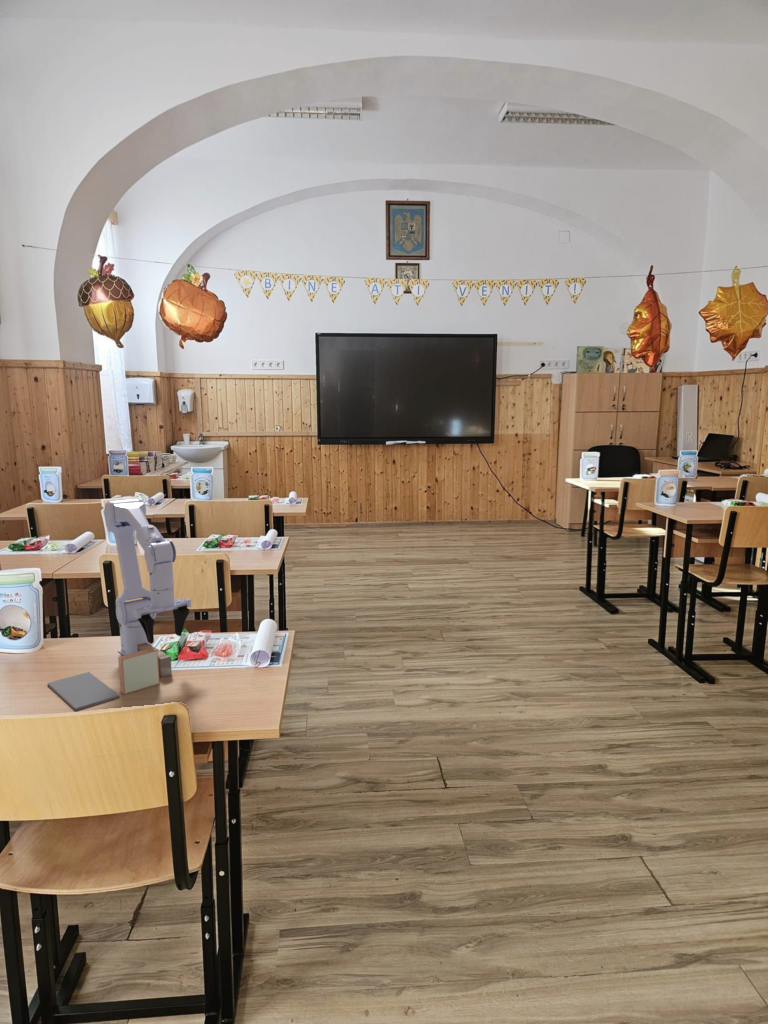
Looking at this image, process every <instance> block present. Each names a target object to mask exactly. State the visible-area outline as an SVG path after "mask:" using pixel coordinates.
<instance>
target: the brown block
mask: <svg viewBox="0 0 768 1024" xmlns="http://www.w3.org/2000/svg"><path fill="white" fill-rule="evenodd" d="M151 648H155V649H157V650H158V666H159V677H161V678H163V679H164V678H166V677H169V676H172V675H173V673H172V671H173V670H172V656H170V655H168V654H167V653H165V652H163V651H162V650H161V649H158V648H156V647H155V646H153V645H152V646H151V645H149V644H148V643H142V644H138V645H137V650H138V652H139V651H143V650H147V649H151Z"/></svg>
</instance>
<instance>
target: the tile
mask: <svg viewBox="0 0 768 1024" xmlns="http://www.w3.org/2000/svg"><path fill="white" fill-rule="evenodd" d="M155 648H156V647H155ZM155 648H151V649H147V650H143V651H139V652H136V653H132V654H128V655H120V656H118V657H117V660H118V672H119V673H118V674H119V675H118V676H119V688H120V693H121V694H122V693H123V695H127V694H128V695H129V694H130V693H134V692H137V691H140V690H144V689H147V688H150V687H154V686H157V685H160V682H161V681H160V676H159V666H158V650H159V649H158V648H156V649H155ZM157 649H158V650H157Z"/></svg>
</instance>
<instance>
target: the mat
mask: <svg viewBox="0 0 768 1024" xmlns="http://www.w3.org/2000/svg"><path fill="white" fill-rule="evenodd" d="M47 686H48V687H49V688H50V689H51V690H52V691H53V692H54V693H56V694H57V695H58V696H59V697H60V698H61V699H62V700H63V701H64V702H65V703H67V705H68V706H70V708H72V709H73V710H74V711H79V710H83V709H86V708H89V707H92V706H96V705H99V704H102V703H106V702H109V700H110V701H113V700H116V699H119V698H120V694H118V693H117V692H116V691H114V690H113V689H112V688H111V687H109V686H108V685H106V684H105V683H104V682H103V681H101V680H100V679H99V678H97V677H96V676H95V675H93V674H92V673H90V672H89V671H87V672H84V673H79V674H77V675H76V674H75V675H72V676H69V677H68V676H67V677H65V678H64V677H63V678H61V679H57V680H53V681H50V682H47ZM118 697H119V698H118ZM112 699H113V700H112ZM105 701H106V702H105Z"/></svg>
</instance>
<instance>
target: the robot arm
mask: <svg viewBox="0 0 768 1024" xmlns="http://www.w3.org/2000/svg"><path fill="white" fill-rule="evenodd" d="M103 513H104V519H105V524H106V528H107V531H108V532H110V533H113V536H114V539H115V545H116V550H117V555H118V561H119V567H120V573H121V578H122V584H123V585H122V586H123V589H124V590H123V591H122V592H121V593H120V594H119V595H118V596H117V597H116V599H115V615H116V619H117V622H118V624H120V629H119V635H120V636H119V637H120V648H119V649H118V650H117V652H118V653H120V654H121V655H122V656H124V655H128V654H132V653H136V652H138V650H137V645H138V644H142V643H148V644H149V645H151V646H153V644H154V642H155V641H154V640H155V639H154V625H155V624H154V623H155V618H156V616H157V614H160V613H166V612H170V611H172V614H173V620H174V632H175V633H174V634H175V635H176V636H178V637H182V636H183V635H182V634H183V629H184V625H185V622H186V620H187V618H188V615H189V614H190V609H189V608H190V607H192V603H191V601H192V600H191V599H190V598H188V597H187V598H179V599H175V587H174V569H173V568H174V567H173V563H175V561H176V560H177V559H176V558H177V550H176V547H175V546H176V545H175V544H174V542H173V540H172V539H167V538H164V536H163V535H162V533H160V531H159V529H158V528H157V527H156V526H155V525H153V524H150V523H149V521H148V519H147V518H146V515H147V508H146V503H145V501H144V500H143V499H142V498H140V497H139V498H131V499H121V500H120V499H119V500H107V501H106V503H105V504H104V510H103ZM134 533H136V534H135V538H136V541H137V542H138V543H139V545H140V547H141V548H142V550H143V551H144V560H145V563H146V569H147V572H149V573H148V574H149V589H146V588H144V587H143V584H142V578H141V572H140V566H139V561H138V556H137V555H138V554H137V550H136V545H135V539H134Z"/></svg>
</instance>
